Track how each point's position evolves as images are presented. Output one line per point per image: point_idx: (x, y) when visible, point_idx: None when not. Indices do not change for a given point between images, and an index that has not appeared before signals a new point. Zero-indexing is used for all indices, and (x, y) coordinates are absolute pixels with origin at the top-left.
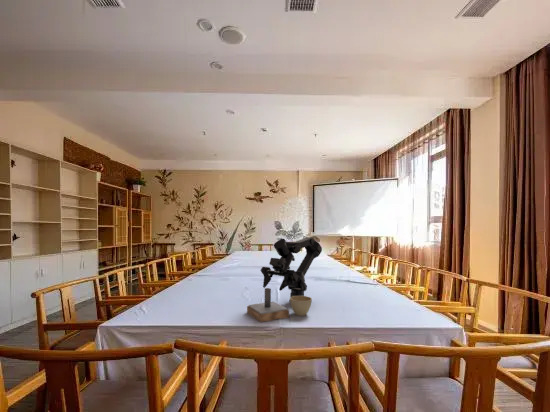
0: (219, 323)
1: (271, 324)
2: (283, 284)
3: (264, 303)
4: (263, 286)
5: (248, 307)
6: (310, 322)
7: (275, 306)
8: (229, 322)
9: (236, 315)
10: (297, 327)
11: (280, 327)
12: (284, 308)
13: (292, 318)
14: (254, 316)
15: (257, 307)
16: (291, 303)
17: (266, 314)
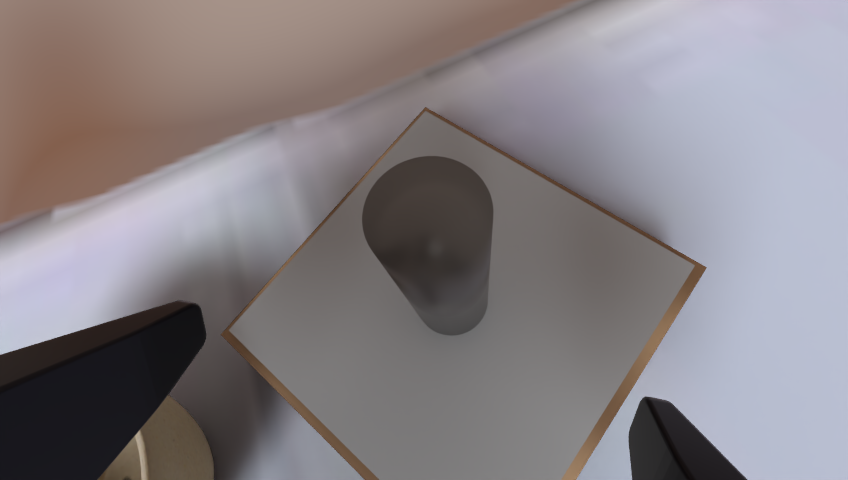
0: (678, 8)
1: (341, 141)
2: (12, 370)
3: (555, 416)
4: (652, 398)
5: (666, 247)
6: (81, 295)
7: (371, 348)
8: (631, 48)
9: (705, 184)
10: (167, 169)
11: (270, 124)
12: (258, 321)
13: (221, 324)
14: None
15: (540, 227)
16: (162, 403)
17: (389, 150)
